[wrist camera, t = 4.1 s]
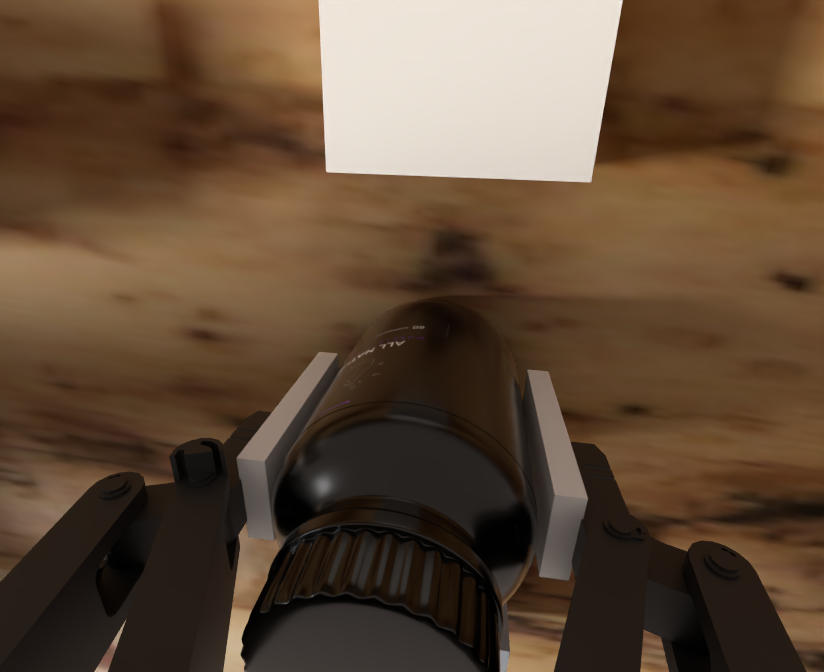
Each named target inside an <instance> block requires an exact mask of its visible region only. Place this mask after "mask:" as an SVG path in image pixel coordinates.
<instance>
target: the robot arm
mask: <svg viewBox="0 0 824 672" xmlns="http://www.w3.org/2000/svg"><path fill="white" fill-rule="evenodd" d="M338 372H339V366H338V353H327V352H319V353H318V354H317V355H316V356H315V358H314V359H313V360H312V362H311V363H310V364H309V365H308V367H307V368H306V369H305V371H304V372H303V373H302V374H301V376H300V377H299V378H298V380H297V381H296V382H295V383H294V385H293V386H292V387H291V389H290V390H289V391H288V392H287V394H286V395H285V396H284V398H283V399H282V400H281V401H280V403H279V404H278V405H277V407H276V408H275V409H274V410H273V412H263V411H258V412H256V413H254V414H253V415H251V416H249V417H248V418H246V419H245V420H244V421H243V422H242V423H241V425H240V426H239V427H238V428H237V431H236V430H235V432H234V433H233V434H232V435H231V436H230V438H229V439H228V440H227V441H226V442H225V443H224V444H222V443H221V442H220V441H219V440H216V439H212V438H200V439H196V440H191V441H189V442H186V443H184V444H182V445H180V446H179V447H177V448H176V449H175V450H174V451H173V452H172V453H171V455H170V456H169V457H170V461H171V466H172V470H173V475H174V479H175V482H173V483H167V484H158V485H150V486H145V482H144V478H143V476H141V475H140V474H139V473H134V472H122V473H117V474H113V475H110V476H108V477H106V478H104V479H102V480H100V481H98V482H96V483H95V484H94V485H93V486H92V487H90V488H89V489H88V490H87V491H86V492H85V493H84V494H83V496H82V497H81V498H80V499H79V500H78V501H77V502H76V503H75V504H74V505H73V506H72V507H71V508H70V509H69V510H68V511H67V512H66V513H65V514H64V516H63V517H62V518H61V519H60V520H59V521H58V522H57V523H56V524H55V525H54V526H53V527H52V528H51V529H50V530H49V531H48V532H47V533H46V535H45V536H44V537H43V538H42V539H41V540H40V541H39V542H38V543H37V544H36V545H35V546H34V547H33V548H32V549H31V550H30V551H29V552H28V553H27V555H26V556H25V557H24V558H23V559H22V560H21V561H20V562H19V563H18V564H17V565H16V566H15V567H14V568H13V569H12V570H11V571H10V572H9V574H8V575H7V576H6V577H5V578H4V579H3V580H2V581H1V582H0V672H94V671H95V669H96V668H97V666H98V665H99V663H100V661H101V660H102V658H103V656H104V655H105V653H106V651H107V650H108V648H109V646H110V645H111V643H112V642H113V640H114V638H115V637H116V635H117V633H118V632H119V630H120V628H121V627H122V625H123V624H124V622H125V620H126V622H125V625H124V628H123V631H122V634H121V636H120V639H119V642H118V645H117V648H116V650H115V653H114V656H113V659H112V662H111V665H110V667H109V670H108V672H223V668H224V661H225V653H226V646H227V639H228V631H229V624H230V617H231V609H232V602H233V595H234V587H235V580H236V573H237V565H238V558H239V551H240V543H239V536H238V535H239V533H240V531H241V530H242V528H243V526H244V525H245V523H246V524H247V530H248V537H251V538H258V539H266V540H273V541H274V540H275V538H276V536H275V532H274V527H273V520H272V493H273V487H274V482H275V479H276V476H277V472H278V470H279V468H280V466H281V464H282V462H283V460H284V458H285V456H286V454H287V452H288V450H289V449H290V447H291V445H292V444H293V442H294V441H295V439H296V438H297V436H298V434H299V433H300V431H301V430H302V428H303V427H304V425H305V423H306V422H307V420H308V419H309V417H310V416H311V414H312V412H313V411H314V409H315V408H316V406H317V405H318V403H319V401H320V400H321V398H322V397H323V395H324V394H325V392H326V390H327V389H328V387H329V386H330V384H331V383H332V381H333V379H334V378H335V376H336V375H337V373H338ZM522 405H523V412H524V420H525V427H526V434H527V441H528V448H529V455H530V463H531V470H532V477H533V484H534V491H535V499H536V506H537V520H538V538H537V546H536V551H535V552H536V559H537V566H538V573H539V577H545V578H552V579H560V580H567V581H569V578H570V574H571V570H572V566H573V570H574V575H575V579H576V583H575V587H574V591H573V595H572V599H571V604H570V608H569V612H568V616H567V620H566V624H565V628H564V632H563V636H562V640H561V645H560V649H559V653H558V657H557V661H556V665H555V669H554V672H640V668H641V655H642V642H643V629H644V630H646V631H649V632H651V633H653V634H655V635H658V636H660V637H661V639H662V643H663V647H664V651H665V656H666V660H667V664H668V668H669V672H806V670H805V668H804V666H803V664H802V662H801V660H800V658H799V656H798V654H797V652H796V650H795V648H794V646H793V644H792V642H791V640H790V638H789V636H788V634H787V632H786V630H785V628H784V626H783V624H782V622H781V620H780V618H779V616H778V614H777V612H776V610H775V608H774V606H773V604H772V602H771V600H770V598H769V596H768V594H767V592H766V590H765V588H764V586H763V584H762V582H761V580H760V578H759V576H758V574H757V572H756V571H755V570H754V568H753V567H752V565H751V564H750V563H749V562H748V561H747V560H746V559H745V558H744V557H742V556H741V555H740V554H739V553H737V552H736V551H734V550H732V549H730V548H728V547H727V546H724V545H721V544H718V543H715V542H711V541H699V542H696V543H693V544H692V545H691V547H690V548H689V550H688V552H687V551H684V550H681V549H679V548H676V547H673V546H670V545H667V544H665V543H662V542H660V541H658V540H655V539H654V538H652V537H650V536H649V532H648V530H647V529H646V528H645V526H644V525H643V523H641V522H640V521H639V520H637V519H636V518H635V517H634V516H632V515H630V514H629V512H628V509H627V507H626V505H625V502H624V500H623V497H622V495H621V492H620V490H619V488H618V485H617V483H616V480H614V475H613V473H612V471H611V470H610V466H609V463H608V461H607V458H606V456H605V455H604V454H603V453H602V452H601V451H600V450H599V449H598V448H597V447H596V446H595V445H594V444H587V443H577V442H570V439H569V436H568V433H567V430H566V426H565V423H564V420H563V417H562V414H561V410H560V407H559V404H558V401H557V397H556V394H555V391H554V388H553V385H552V381H551V378H550V375H549V372H548V371H539V370H527V376H526V383H525V390H524V397H523V404H522Z"/></svg>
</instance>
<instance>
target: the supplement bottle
mask: <svg viewBox="0 0 824 672" xmlns="http://www.w3.org/2000/svg"><path fill="white" fill-rule="evenodd" d="M272 520H273V527H274V532H275V536H276V540H277V543H278V546H279V548H280V549H279V551H278V553H277V555H276V557H275V559H274V561H273V563H272V565H271V567H270V570H269V574H268V579H267V582H266V584H265V586H264V588H263V590H262V592H261V594H260V596H259V598H258V600H257V602H256V604H255V606H254V608H253V610H252V612H251V614H250V617H249V621H248V623H247V625H246V627H245V629H244V632H243V636H242V644H243V648H242V651H241V657H242V659H243V660H244V662H245V666H244V671H245V672H500V643H501V640H502V635H503V607H502V606H503V605H504V604H505V603H506V602H507V601H508V600H509V599H510V598H511V597H512V595H513V594H514V593H515V592H516V590H517V589H518V588H519V586H520V585H521V583H522V582H523V580H524V578H525V576H526V575H527V573H528V571H529V569H530V566H531V563H532V561H533V558H534V555H535V551H536V546H537V538H538V520H537V506H536V499H535V491H534V484H533V477H532V470H531V463H530V455H529V448H528V441H527V434H526V427H525V420H524V412H523V405H522V398H521V391H520V384H519V378H518V373H517V367H516V363H515V360H514V357H513V354H512V352H511V349H510V347H509V345H508V343H507V342H506V340H505V339H504V337H503V336H502V335H501V333H500V332H499V331H498V330H497V329H496V328H495V327H494V326H493V325H492V324H491V323H490V322H489V321H487V320H486V319H485V318H484V317H482V316H481V315H479V314H477V313H476V312H474V311H472V310H470V309H468V308H465V307H463V306H460V305H457V304H454V303H449V302H444V301H418V302H412V303H408V304H404V305H401V306H399V307H396V308H394V309H392V310H390V311H388V312H386V313H385V314H383V315H382V316H380V317H379V318H378V319H377V320H375V321H374V322H373V323H372V324H371V325H370V326H369V327H368V328H367V330H366V331H365V332H364V333H363V335H362V336H361V338H360V339H359V341H358V342H357V343H356V345H355V347H354V348H353V350H352V351H351V353H350V354H349V356H348V358H347V359H346V361H345V362H344V364H343V365H342V367H341V368H340V370H339V372H338V373H337V375H336V376H335V378H334V379H333V381H332V383H331V384H330V386H329V387H328V389H327V390H326V392H325V394H324V395H323V397H322V398H321V400H320V401H319V403H318V405H317V406H316V408H315V409H314V411H313V412H312V414H311V416H310V417H309V419H308V420H307V422H306V423H305V425H304V427H303V428H302V430H301V431H300V433H299V434H298V436H297V438H296V439H295V441H294V442H293V444H292V445H291V447H290V449H289V450H288V452H287V454H286V456H285V458H284V460H283V462H282V464H281V466H280V468H279V470H278V472H277V476H276V479H275V482H274V487H273V493H272Z"/></svg>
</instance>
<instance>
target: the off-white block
mask: <svg viewBox="0 0 824 672" xmlns="http://www.w3.org/2000/svg"><path fill="white" fill-rule="evenodd" d="M622 2H623V0H319V16H320V39H321V62H322V85H323V108H324V131H325V154H326V172H334V173H360V174H386V175H413V176H439V177H465V178H491V179H517V180H543V181H569V182H591V179H592V174H593V168H594V162H595V156H596V151H597V145H598V139H599V133H600V128H601V122H602V116H603V111H604V105H605V99H606V93H607V88H608V82H609V76H610V70H611V65H612V59H613V53H614V47H615V42H616V36H617V30H618V25H619V19H620V13H621V7H622Z"/></svg>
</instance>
